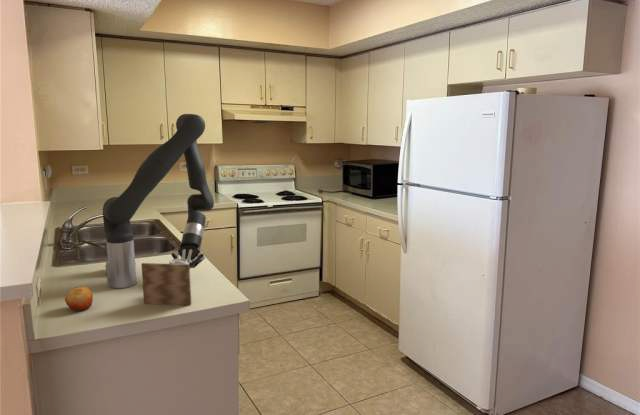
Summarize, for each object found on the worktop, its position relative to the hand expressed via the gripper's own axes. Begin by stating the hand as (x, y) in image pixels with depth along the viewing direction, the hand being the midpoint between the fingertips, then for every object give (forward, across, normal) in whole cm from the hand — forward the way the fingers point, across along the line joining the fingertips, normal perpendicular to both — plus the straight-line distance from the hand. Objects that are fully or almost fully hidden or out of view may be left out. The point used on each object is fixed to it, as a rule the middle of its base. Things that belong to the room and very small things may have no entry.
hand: (183, 277), depth 166 cm
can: (+6, 0, 0) cm, 6 cm away
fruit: (+18, -27, -12) cm, 35 cm away
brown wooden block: (+12, 0, -6) cm, 13 cm away
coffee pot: (-8, -37, +14) cm, 40 cm away
